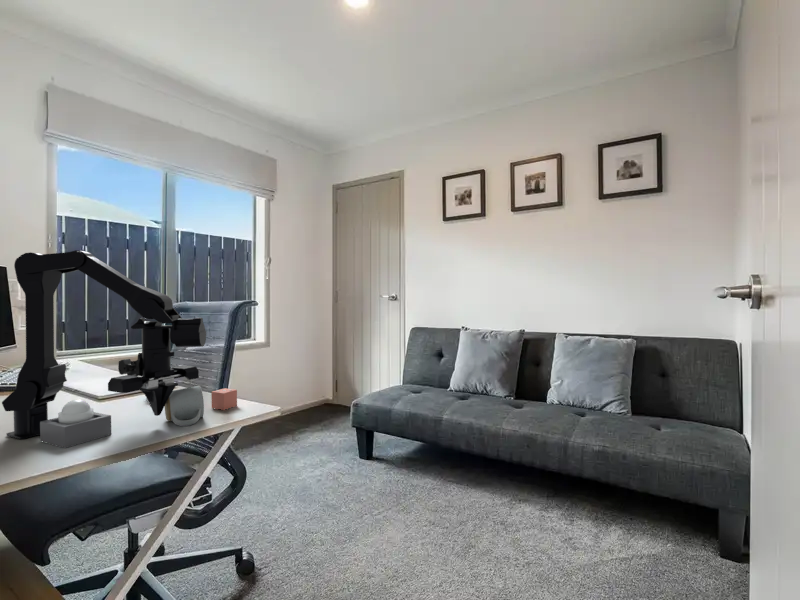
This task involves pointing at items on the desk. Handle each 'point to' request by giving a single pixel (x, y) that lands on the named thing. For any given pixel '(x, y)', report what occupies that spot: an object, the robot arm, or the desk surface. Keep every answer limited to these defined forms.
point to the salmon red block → (224, 398)
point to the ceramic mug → (185, 406)
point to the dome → (75, 412)
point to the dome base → (75, 430)
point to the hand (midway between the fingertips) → (157, 415)
